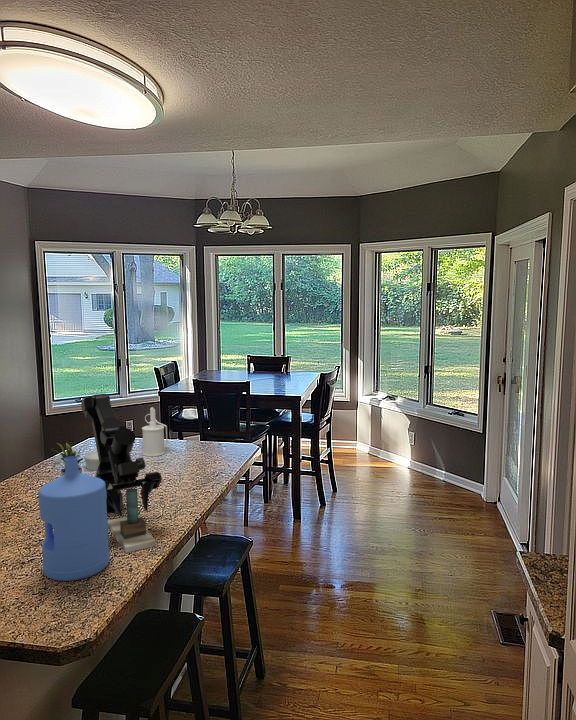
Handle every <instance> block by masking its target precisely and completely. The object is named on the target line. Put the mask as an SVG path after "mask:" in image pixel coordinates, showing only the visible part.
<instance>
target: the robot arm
mask: <svg viewBox="0 0 576 720" xmlns="http://www.w3.org/2000/svg"><path fill="white" fill-rule="evenodd" d="M80 406H81V411H82V412H83V413H84V417H85V419H86V421H88V422H89V423H90V424H91V426H92V432H93V437H94V441H95V447H96V451H97V452H98V457H99V463H100V464H99V466H98V469H97V471H95V473H96V474H95V476H94V477H97V478H100V479H102V480H103V481H104V482H105V485H106V492H107V499H106V505H107V513H117V514H118V516H119V518H122V517H123V512H122V506H124V500H123V498H124V497H123V492H121V491H122V490H127V489H132V488H138V487H141V491H140V497H141V502H142V506H143V509H144V511H145V512H147V511H148V507H149V506H148V505H149V496H150V495H149V494H150V493H151V492H152V490H156V489H157V490H158V489H159V487H160V485H161V482H162V480H163V477H162V474H161V473H160V472H159V471H153V472H147V473H146V474H145V476H144V478H139V473H140V471H142V470H145V469H146V462H145V458H144V457H137V458H136V459H135V460H134V461H133V460H132V457H131V454H130V453H132V450H133V447H134V443H135V441H136V433H135V432H134V431H133V430H132V429H130V428H128V427H127V426H126V425H125V423H124V422H123V421H122V420H119V419H117V416H116V414H115V412H114V410H113V409H114V408H113V407H112V404H111V398H110V395H109V394H108V393H107V394H106V393H99V394H93V395H91V396H85V397H84V398H83V399H82V400H81V404H80ZM137 478H139V479H137Z"/></svg>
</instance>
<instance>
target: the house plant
mask: <svg viewBox="0 0 576 720" xmlns="http://www.w3.org/2000/svg"><path fill="white" fill-rule="evenodd" d="M56 444H57V445H58V446H60V449H61V450H62V452H59V455H60V456H61V457H60V458H59V460H62V461H63V462H61V461H57V462H54V464H53V465H52V467H53V466H56V465H57V464H58V465H60V466H62V465H61V464H63V465H64V466H62V467H63V468H62V469H61V470H60V474H61V476H63V475H64V474H65V460H64V458H66V457H70V456H77V457H78V464H79V463H81V464H83V463H84V462H85V459H84V457H83V458H79V457H80V456H82V455H83V454H82V453H83V452H84V451H85V450H86V449H88V448H90V447H91V446H86V447H85V448H84V449H83V450H82V448H83V446H84V445H81V447H80V448H79V450H78V452H77V451H73V448H72V447H73V445H69V444H68V442H66V443H65V448H66V449H65V448H64V446H63V445H62V444H60V443H57V442H56ZM81 450H82V451H81ZM52 451H53V452H56V454H58V450H56V449H53V448H52ZM79 453H80V454H79ZM83 460H84V461H83ZM86 461H87V460H86ZM85 463H86V462H85ZM81 464H79V466H78V470H79V473H82V474H83V472H82V471H83V467H82V466H81Z"/></svg>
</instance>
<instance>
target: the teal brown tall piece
mask: <svg viewBox="0 0 576 720" xmlns="http://www.w3.org/2000/svg"><path fill="white" fill-rule="evenodd" d="M138 498H139V497H138V489H137V488H135V487H133V488H128V489H125V500H126V501H125V502H126V517H127V520H125V521H120V533H121V535H122V536H123V538H124V539H127V538H131V537H135V536H140V535H144V534H146V530H147V526H146V525H147V522H146V520H145V519H144V518H143V517H142V516H140V517H139V505H138V504H139V502H138V501H139V499H138Z"/></svg>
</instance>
